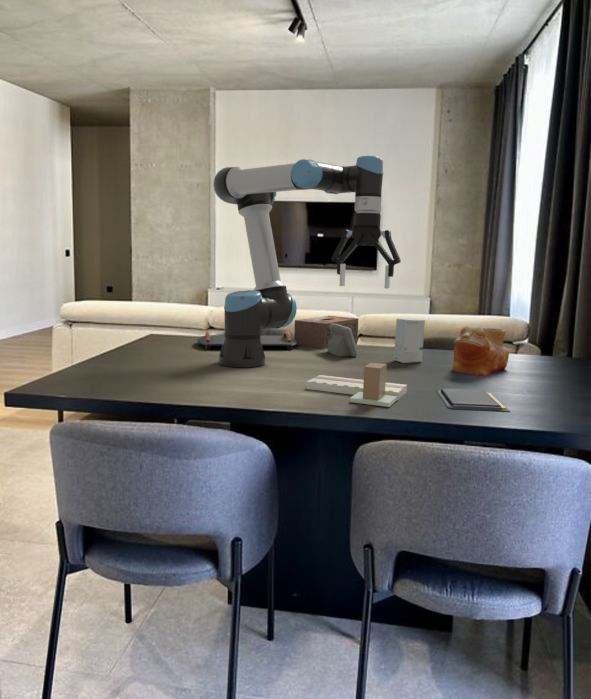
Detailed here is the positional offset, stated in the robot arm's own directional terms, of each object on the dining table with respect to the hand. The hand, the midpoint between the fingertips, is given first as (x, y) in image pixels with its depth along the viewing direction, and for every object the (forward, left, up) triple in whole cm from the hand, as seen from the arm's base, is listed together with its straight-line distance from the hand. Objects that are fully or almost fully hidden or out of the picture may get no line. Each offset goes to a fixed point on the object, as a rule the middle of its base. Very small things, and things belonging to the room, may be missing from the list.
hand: (364, 287), depth 172 cm
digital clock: (-18, +36, -27) cm, 48 cm away
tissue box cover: (-32, +58, -27) cm, 72 cm away
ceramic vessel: (+31, +31, -27) cm, 51 cm away
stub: (+12, -28, -27) cm, 40 cm away
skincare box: (+7, +34, -27) cm, 44 cm away
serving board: (-56, +34, -27) cm, 71 cm away
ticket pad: (+4, -18, -27) cm, 33 cm away
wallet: (+34, -14, -28) cm, 46 cm away
